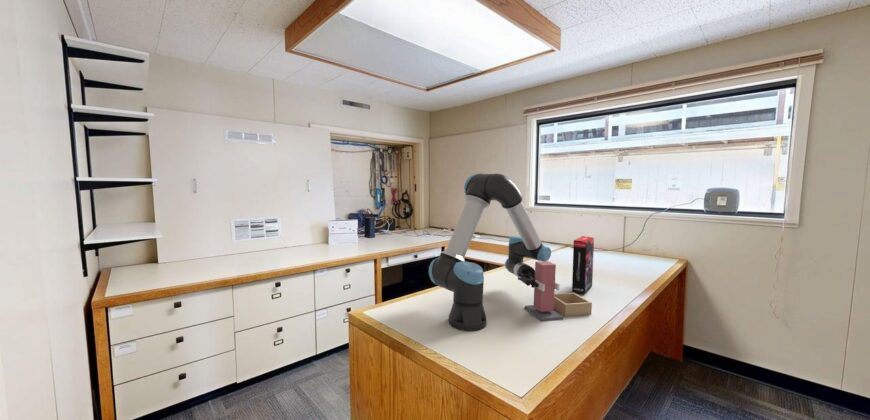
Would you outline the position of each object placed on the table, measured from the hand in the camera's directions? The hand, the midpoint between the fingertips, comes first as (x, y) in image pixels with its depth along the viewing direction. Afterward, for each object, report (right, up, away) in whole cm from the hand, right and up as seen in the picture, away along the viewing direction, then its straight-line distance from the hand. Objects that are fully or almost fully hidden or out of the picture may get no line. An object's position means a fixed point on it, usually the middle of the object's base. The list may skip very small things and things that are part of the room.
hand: (551, 287), depth 135 cm
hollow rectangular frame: (+12, -12, +11) cm, 20 cm away
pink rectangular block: (-1, -11, +6) cm, 12 cm away
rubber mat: (-1, -13, +6) cm, 14 cm away
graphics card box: (+30, -10, +38) cm, 50 cm away
